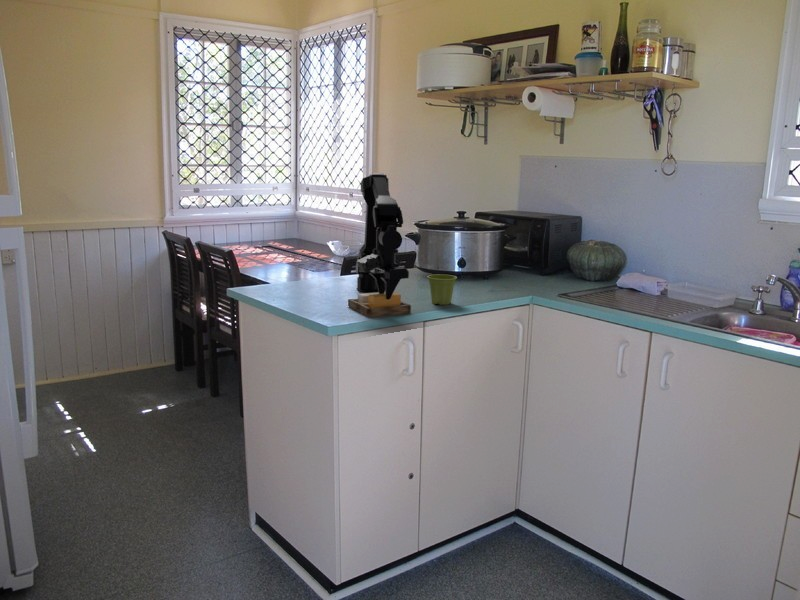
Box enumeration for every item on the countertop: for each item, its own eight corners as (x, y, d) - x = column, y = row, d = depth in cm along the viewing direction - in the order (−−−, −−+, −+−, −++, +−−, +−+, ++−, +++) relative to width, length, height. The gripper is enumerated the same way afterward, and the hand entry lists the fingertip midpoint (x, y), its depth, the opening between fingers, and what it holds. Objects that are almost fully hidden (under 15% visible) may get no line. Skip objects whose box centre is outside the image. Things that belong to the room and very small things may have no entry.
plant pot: (421, 301, 217) (422, 274, 215) (447, 299, 220) (448, 273, 219) (434, 307, 208) (435, 279, 207) (460, 305, 212) (462, 278, 210)
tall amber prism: (373, 308, 195) (373, 296, 195) (368, 306, 198) (368, 294, 198) (400, 306, 200) (400, 294, 199) (395, 303, 203) (395, 292, 202)
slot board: (388, 303, 212) (388, 295, 212) (410, 312, 200) (410, 305, 199) (348, 306, 206) (348, 299, 205) (368, 317, 193) (368, 308, 193)
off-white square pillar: (362, 307, 202) (362, 296, 201) (357, 305, 205) (357, 293, 204) (388, 305, 206) (389, 294, 206) (383, 302, 209) (384, 291, 209)
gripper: (347, 242, 200) (347, 293, 203) (375, 251, 183) (374, 306, 187) (380, 241, 205) (380, 291, 208) (410, 249, 189) (408, 303, 192)
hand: (384, 297), depth 199 cm, fingers open, 4 cm apart
